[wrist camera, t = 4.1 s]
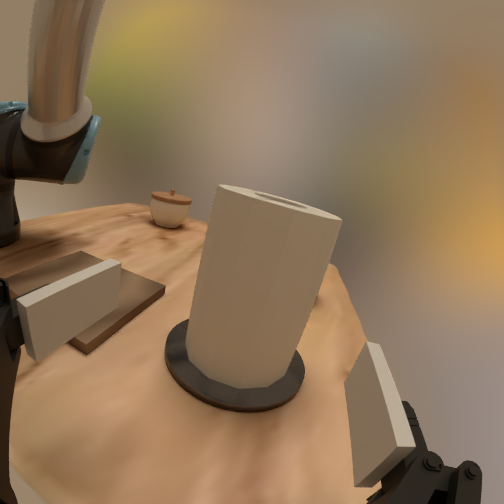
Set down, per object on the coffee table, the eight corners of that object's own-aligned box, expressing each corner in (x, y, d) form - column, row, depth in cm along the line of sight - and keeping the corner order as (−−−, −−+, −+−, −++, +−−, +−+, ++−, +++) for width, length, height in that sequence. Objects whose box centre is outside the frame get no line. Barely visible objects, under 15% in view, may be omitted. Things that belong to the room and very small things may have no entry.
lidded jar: (158, 217, 75) (164, 185, 73) (191, 226, 74) (199, 193, 72) (139, 222, 65) (145, 185, 63) (175, 233, 64) (183, 195, 62)
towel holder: (138, 373, 20) (151, 223, 17) (195, 309, 34) (217, 207, 30) (297, 429, 19) (369, 290, 15) (303, 344, 32) (340, 243, 29)
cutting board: (1, 289, 22) (0, 280, 21) (80, 257, 37) (81, 250, 37) (87, 354, 20) (86, 344, 19) (164, 293, 35) (165, 285, 35)
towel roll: (169, 362, 22) (200, 184, 18) (206, 314, 31) (236, 185, 27) (280, 400, 20) (350, 226, 16) (289, 341, 30) (333, 213, 26)
